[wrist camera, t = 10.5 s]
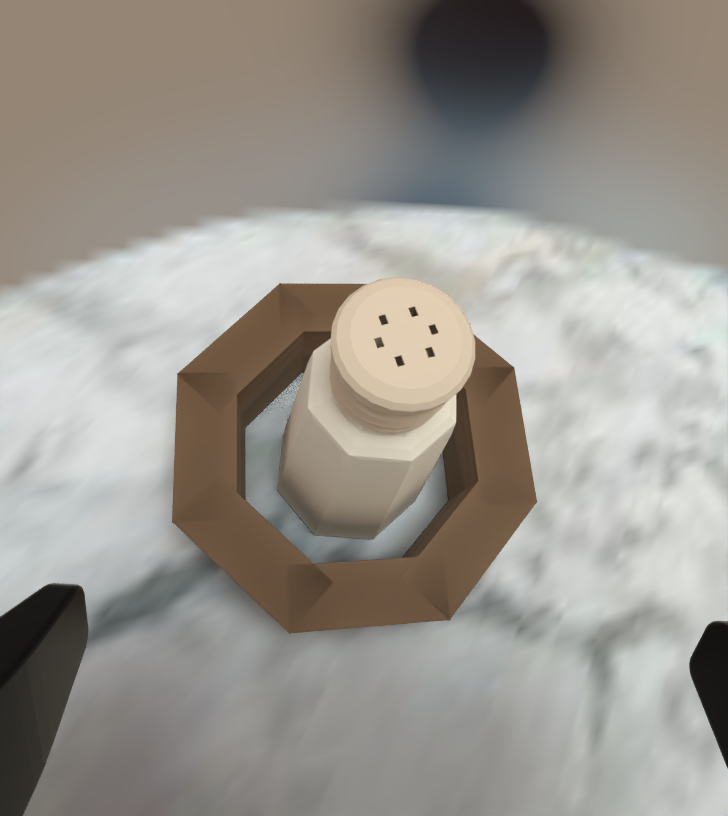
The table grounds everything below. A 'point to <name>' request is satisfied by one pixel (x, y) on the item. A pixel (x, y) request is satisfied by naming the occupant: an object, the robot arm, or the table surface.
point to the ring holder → (275, 555)
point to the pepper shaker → (375, 408)
